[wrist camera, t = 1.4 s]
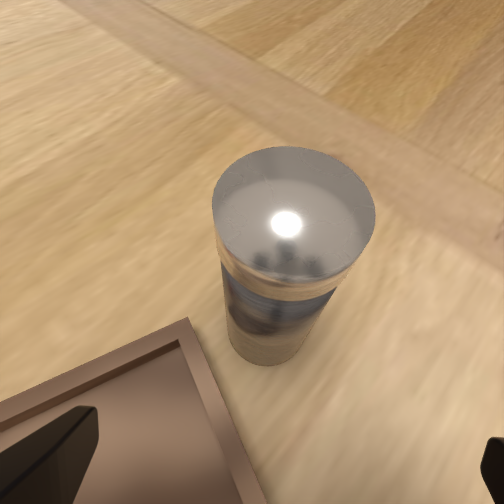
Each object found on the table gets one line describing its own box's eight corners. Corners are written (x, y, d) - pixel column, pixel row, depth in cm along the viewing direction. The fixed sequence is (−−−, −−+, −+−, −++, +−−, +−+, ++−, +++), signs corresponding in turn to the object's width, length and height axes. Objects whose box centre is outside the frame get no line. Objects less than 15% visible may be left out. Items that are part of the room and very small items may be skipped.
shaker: (321, 343, 21) (410, 233, 10) (248, 383, 20) (259, 304, 9) (280, 278, 24) (317, 130, 13) (213, 309, 22) (187, 173, 11)
